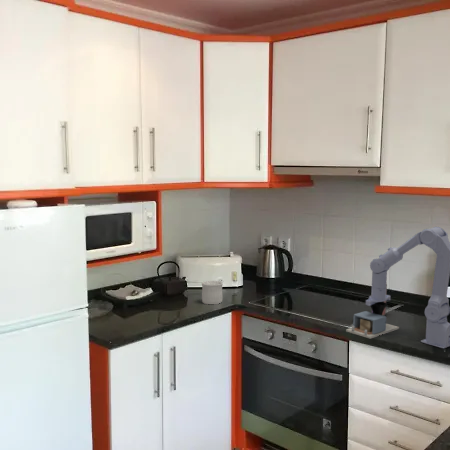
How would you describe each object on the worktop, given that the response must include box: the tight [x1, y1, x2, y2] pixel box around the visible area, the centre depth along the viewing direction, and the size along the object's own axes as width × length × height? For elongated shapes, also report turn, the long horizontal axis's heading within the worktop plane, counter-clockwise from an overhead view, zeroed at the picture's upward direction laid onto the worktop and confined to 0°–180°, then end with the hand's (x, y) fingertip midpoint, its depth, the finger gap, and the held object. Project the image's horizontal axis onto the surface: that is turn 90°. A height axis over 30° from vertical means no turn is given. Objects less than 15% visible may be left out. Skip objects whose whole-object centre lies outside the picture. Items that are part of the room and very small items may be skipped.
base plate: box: [345, 323, 400, 339], centre depth 222 cm, size 12×20×3 cm, turn 130°
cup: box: [201, 280, 224, 305], centre depth 262 cm, size 10×10×10 cm
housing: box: [352, 310, 387, 334], centre depth 220 cm, size 10×8×6 cm
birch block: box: [360, 318, 373, 332], centre depth 219 cm, size 4×4×4 cm
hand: (377, 319), depth 223 cm, fingers closed
